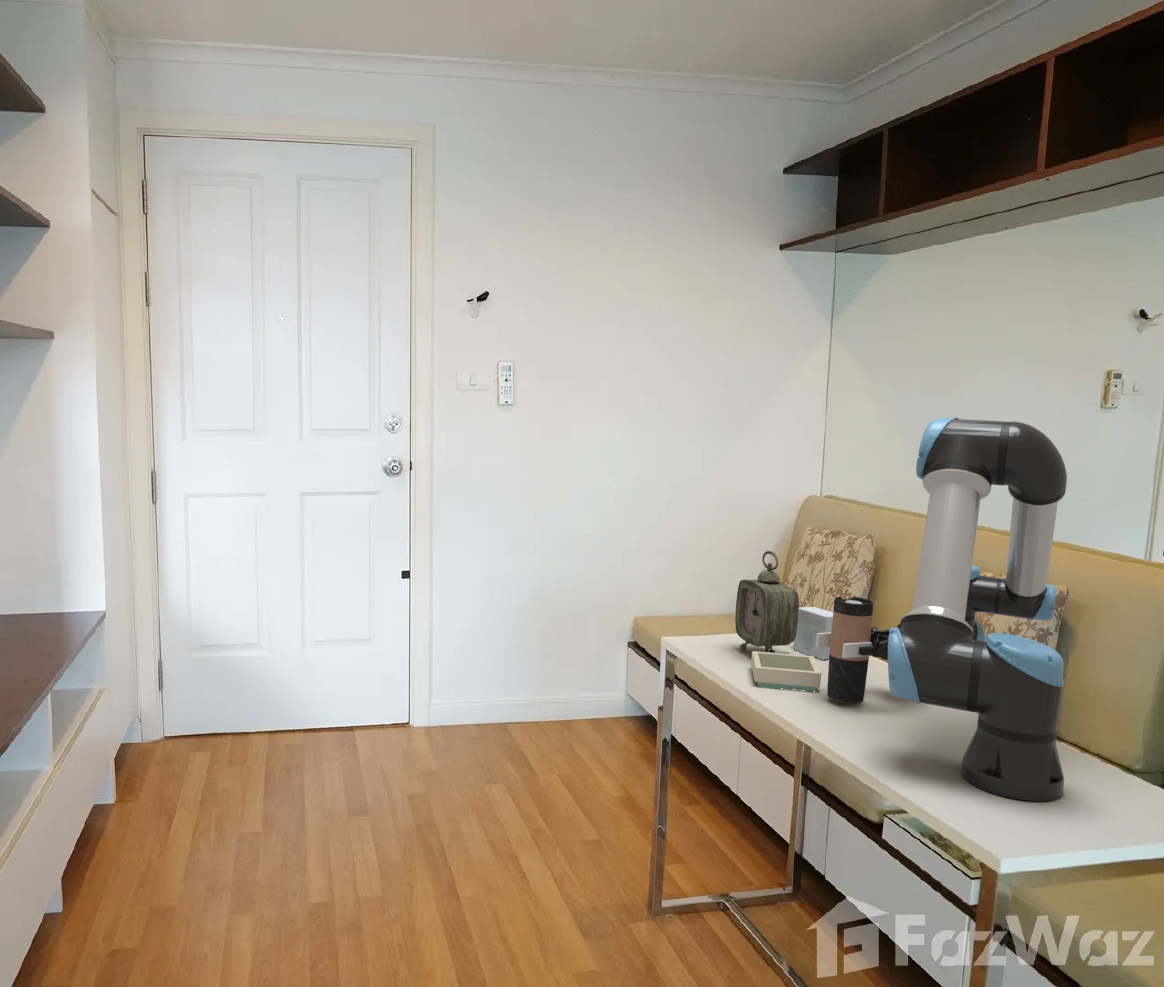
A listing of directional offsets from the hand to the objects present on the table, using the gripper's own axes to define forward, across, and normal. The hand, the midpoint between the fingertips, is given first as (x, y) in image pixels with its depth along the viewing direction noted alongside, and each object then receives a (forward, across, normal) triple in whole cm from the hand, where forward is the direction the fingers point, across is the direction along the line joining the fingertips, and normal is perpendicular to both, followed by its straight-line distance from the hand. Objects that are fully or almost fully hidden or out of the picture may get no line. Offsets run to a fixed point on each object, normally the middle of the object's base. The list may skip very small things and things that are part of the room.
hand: (830, 645), depth 186 cm
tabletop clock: (-8, +33, -12) cm, 36 cm away
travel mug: (-5, 0, -11) cm, 12 cm away
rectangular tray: (-3, +18, -12) cm, 21 cm away
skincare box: (-23, +32, -12) cm, 41 cm away
